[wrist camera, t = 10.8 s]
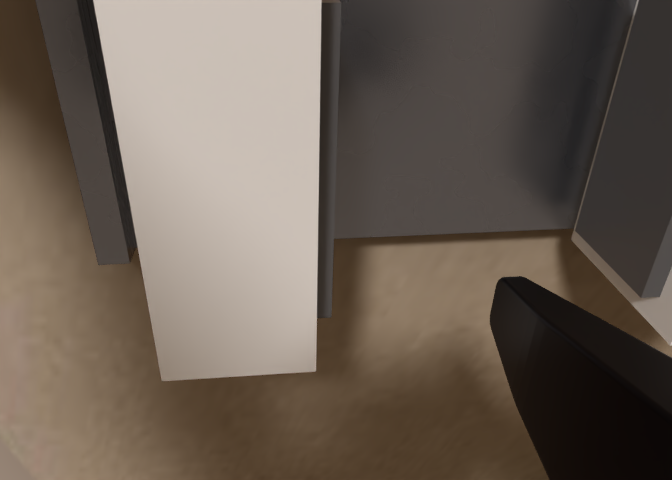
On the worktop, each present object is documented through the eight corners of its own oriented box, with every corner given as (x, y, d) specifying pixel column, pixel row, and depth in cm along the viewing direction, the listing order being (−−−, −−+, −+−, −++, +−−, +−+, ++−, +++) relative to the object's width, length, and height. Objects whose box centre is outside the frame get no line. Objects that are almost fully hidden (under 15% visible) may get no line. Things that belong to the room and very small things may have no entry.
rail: (50, -49, 15) (25, -44, 14) (829, -38, 18) (890, -33, 16) (112, 234, 20) (98, 264, 18) (724, 209, 23) (762, 233, 21)
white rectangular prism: (187, 256, 19) (161, 381, 14) (145, -70, 14) (83, -57, 9) (315, 251, 20) (334, 370, 15) (318, -66, 15) (350, -51, 10)
